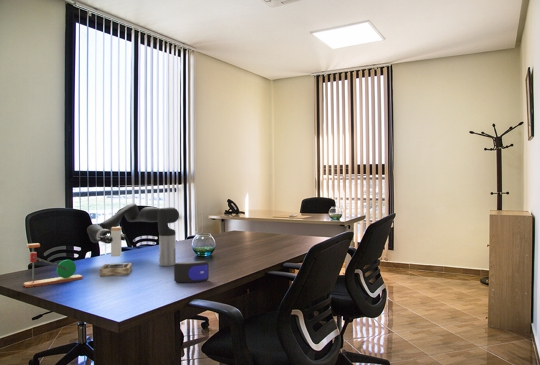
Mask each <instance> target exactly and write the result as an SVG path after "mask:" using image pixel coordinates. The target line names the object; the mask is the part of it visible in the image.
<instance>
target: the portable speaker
mask: <svg viewBox="0 0 540 365" xmlns="http://www.w3.org/2000/svg"><path fill="white" fill-rule="evenodd" d="M173 276H174V278H173V280H174V282H175V283H177V284H194V283H203V282H204V283H205V282H206V281H208V280H209V277H210V276H209V262H208V261H205V260H203V261H185V262H184V261H181V262H176V263H175V264H174V265H173Z"/></svg>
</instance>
